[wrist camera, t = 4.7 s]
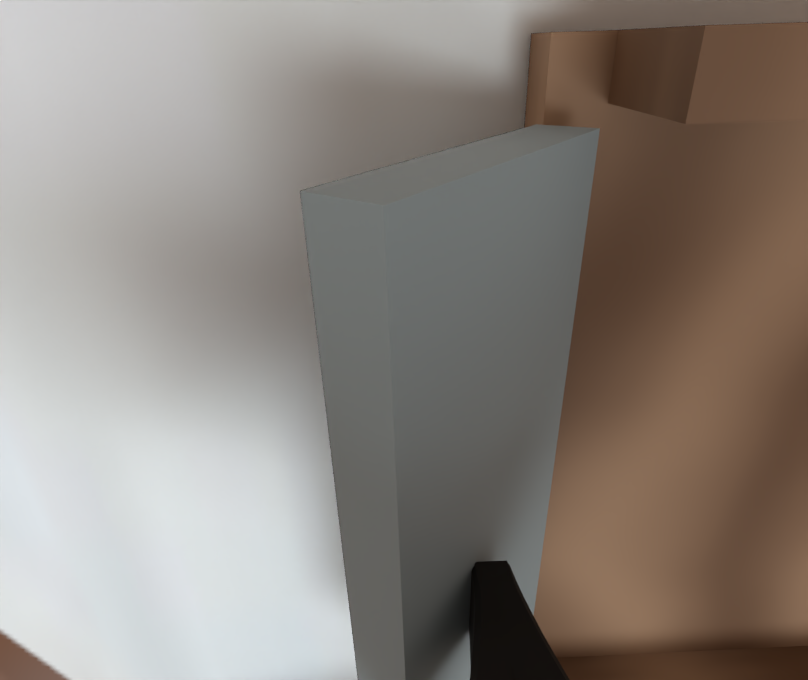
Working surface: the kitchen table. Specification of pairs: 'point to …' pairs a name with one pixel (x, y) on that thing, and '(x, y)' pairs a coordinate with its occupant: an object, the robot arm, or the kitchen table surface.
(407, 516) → the panel
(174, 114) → the kitchen table surface
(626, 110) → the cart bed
